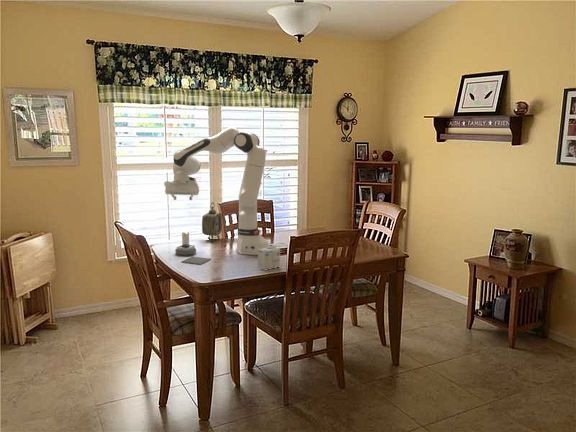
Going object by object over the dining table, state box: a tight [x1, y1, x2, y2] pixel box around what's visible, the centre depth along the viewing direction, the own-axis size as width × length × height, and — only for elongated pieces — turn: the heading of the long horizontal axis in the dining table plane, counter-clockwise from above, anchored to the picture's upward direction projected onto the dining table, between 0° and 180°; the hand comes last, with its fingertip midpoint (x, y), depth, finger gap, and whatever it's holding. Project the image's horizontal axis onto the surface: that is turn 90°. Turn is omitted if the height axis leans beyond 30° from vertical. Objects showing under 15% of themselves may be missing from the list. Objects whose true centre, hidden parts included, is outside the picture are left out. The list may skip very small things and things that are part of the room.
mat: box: [181, 255, 212, 266], centre depth 285 cm, size 12×12×1 cm
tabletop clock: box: [201, 201, 223, 242], centre depth 337 cm, size 14×9×25 cm, turn 168°
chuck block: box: [174, 244, 197, 257], centre depth 300 cm, size 12×12×4 cm
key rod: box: [181, 231, 190, 248], centre depth 299 cm, size 4×4×10 cm
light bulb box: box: [257, 246, 281, 271], centre depth 274 cm, size 11×7×11 cm, turn 129°
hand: (183, 199), depth 306 cm, fingers open, 8 cm apart
